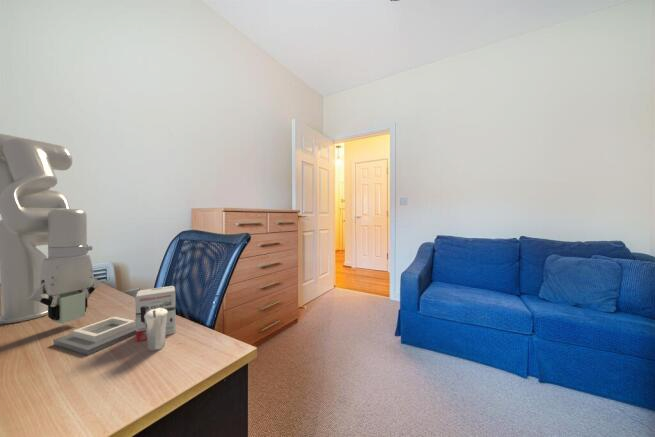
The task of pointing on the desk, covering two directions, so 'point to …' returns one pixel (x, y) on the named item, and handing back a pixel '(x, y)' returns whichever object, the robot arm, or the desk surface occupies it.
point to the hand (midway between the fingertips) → (68, 314)
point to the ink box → (152, 301)
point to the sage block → (71, 306)
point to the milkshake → (156, 328)
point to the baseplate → (98, 335)
